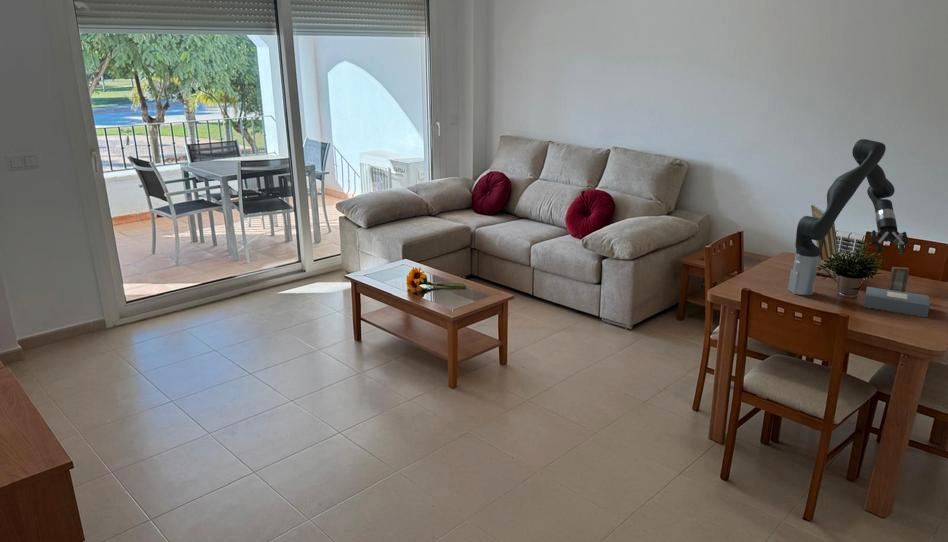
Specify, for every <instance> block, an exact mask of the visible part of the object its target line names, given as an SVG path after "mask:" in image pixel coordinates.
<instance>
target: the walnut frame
mask: <svg viewBox="0 0 948 542" xmlns="http://www.w3.org/2000/svg"><path fill="white" fill-rule="evenodd" d="M910 271H911V270H910V268H908V267H897V266H891V272H890V276H889V281H888V286H887V290H893V291H900V292H906V289H907V283H908V278H909V274H910Z"/></svg>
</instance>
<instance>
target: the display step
mask: <svg viewBox="0 0 948 542" xmlns="http://www.w3.org/2000/svg"><path fill="white" fill-rule="evenodd" d="M864 296H865V297H864V301H863V308H865V307H867V308H866V309H871V308H874V309H873V310H878V309H881V310H880V311H884V310H887V311H886V312H890V311H892V313H896V312H897V313H896V314H902V313H903V314H902V315H908V314H910V316H914V315H916V316H915V317H920V316H921V317H922V318H928V315H929V312H930V311H929V310H930V306H931V305H930V304H931V303H930V295H927V294H918V293H911V292H906V291H905V292H900V291H893V290H888V288H886V289H885V288H878V287H873V286H866V289H865V295H864ZM921 317H920V318H921Z"/></svg>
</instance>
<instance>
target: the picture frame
mask: <svg viewBox="0 0 948 542" xmlns="http://www.w3.org/2000/svg"><path fill="white" fill-rule="evenodd" d="M810 207H811V208H810V209H811V214H812V215H811V217H815V218H821V217H822V216H823V214H824V213H825V211H823V210H822V209H820V208H819V207H818V206H816V205H815V204H811V205H810ZM836 233H837V232H836V225H835V223H834V224H833V225H832V227H831V229H830V230H829V232H828V234H827V235H826V236H825V237H824V238H823V239H822V240H819V241H817V240H815V241H816V246H817V247H818V248H819V249H820V255H819V261H818V264H819V265H820V266H821V265H822V264H823V263H824V260H826V259H828V258H829V257H831V255H833V254H838V253H839V248H838V240H837V234H836ZM824 270H825V271H826V272H827V273H828V274H829V275H830V276H831V277H832V278H833V279H834V280H835V281H836V282H837V276H836V275H835V273H834V272H833V271H830V270H826V269H824Z"/></svg>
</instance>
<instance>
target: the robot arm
mask: <svg viewBox="0 0 948 542" xmlns="http://www.w3.org/2000/svg"><path fill="white" fill-rule="evenodd" d="M886 150H887V147H886V144H884V143H883V142H880V141H877V140H876V141H874V140H870V139H865V138H861V139H859V140H857V141H856V142H855V144H854V146H853V147H852V153H851V154H852V157H853V159H854V161H855V162H856V163H857V165H858V166H857V167H855V168H853V169H851V170H849V171H846V172H845V173H842V174H841V175H839V176H838V177H837V178H835V180H834V181H833V182H832V184H831V186H830V187H829V188H828V190H827V194H826V209H825V211H824V212H825V213H824V214H823V216H822V217H821V218H815V217H813V216H812V215H803V216H802V217H800V220H799V221H798V223H797V227H796V234H795V243H794V244H795V255H794V256H795V257H794V263H793V269H792V268H791V270H790V273H789V275H790V276H789V279H788V280H789V281H788V288H787V290H788V291H789V292H791V293H792V294H793V295H800V296H812V295H814V290H815V286H816V285H815V284H816V278H817V271H818V268H819V263H818V261H819V255H820V249H819V248H818V247H817V244H815V243H814V242H813V241H816V240H817V241H819V240H822V239H823V238H824V237H825V236H826V235H827V234H828V232H829V230H830V229H831V227H832V225H833V224H835V222H836V220H837V218H838V217H839V216H840V213H841V212H842V210H844V208H845V206H846V205H847V203H848V202H850V200H851V199H852V197H853V196H854V194H855V193H856V191H858V188H859V187H860V186H861V184H862V183H863V181H864V180H865V179H866V180H867V182H868V185H869V186H868V188H867V190H866V192H867V196H868V198H869V199H870V200H871V203H872V204H873V207H874V213H875V223H876V228H877V231H876V230H874V229H873V230H871V233H870V235H869V236H870V244H871V245H875V246H876V251H877V252H878V253H879V254H881V253H883V246H882V245H883V244H882V242H884V243H886V242H889V243H894V244H895V245H897V246H898V251H899V253H900V255H903V254H904V253H905V251H906V248H905V247H907V245H908V244H909V239H908V234H907V232H906V231H903V232H899V231H898V224H897V220H896V219H897V218H896V215H895V211H894V207H893V202H892V201H891V199H888V198H891V197H892V196H894V194H895V186H894V185H893V184H892V182H891V181H890V180H889V179H888V178H887V177H886V173H885V172H884V171H885V170H884V169H883V168H882V167H881V166H880V165H879V162H880V161H882V159H883V157H884V155H885V154H886ZM877 237H879V238H880V239H879V240H877Z"/></svg>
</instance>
